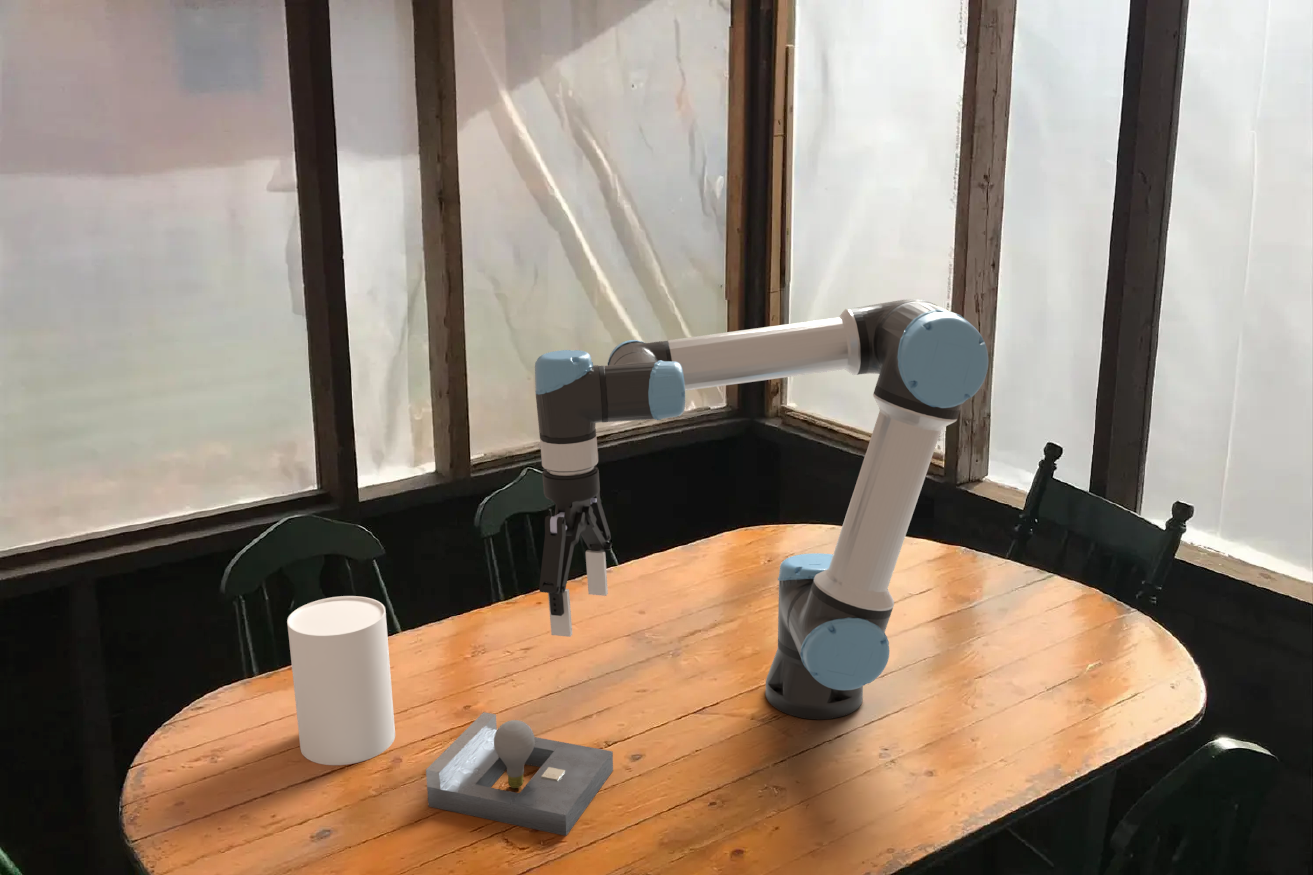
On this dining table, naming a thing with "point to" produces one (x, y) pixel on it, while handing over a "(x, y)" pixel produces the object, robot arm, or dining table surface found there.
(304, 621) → the canister
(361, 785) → the dining table surface
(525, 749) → the light bulb
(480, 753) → the rail plate
